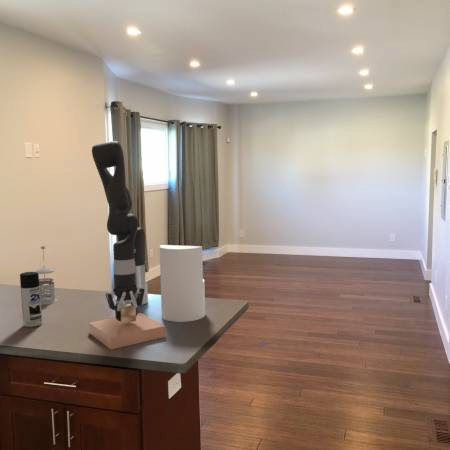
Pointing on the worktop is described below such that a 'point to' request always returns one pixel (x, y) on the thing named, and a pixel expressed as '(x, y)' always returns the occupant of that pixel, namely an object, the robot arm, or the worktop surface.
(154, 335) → the terracotta platform
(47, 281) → the french press
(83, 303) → the worktop surface
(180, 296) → the cylinder
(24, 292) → the spray can
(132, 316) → the maple block
